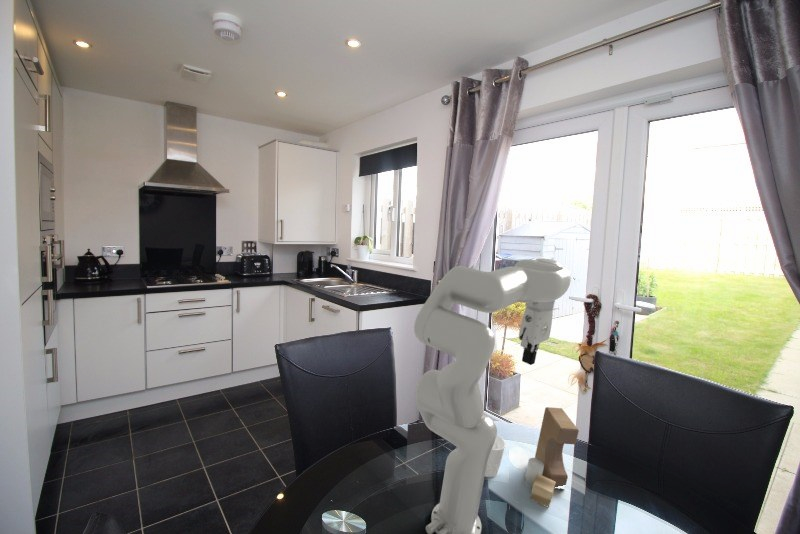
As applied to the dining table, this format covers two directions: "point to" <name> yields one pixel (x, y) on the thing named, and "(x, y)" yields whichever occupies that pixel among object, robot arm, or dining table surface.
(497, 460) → the white cup
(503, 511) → the dining table surface
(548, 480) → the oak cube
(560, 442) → the decorative block
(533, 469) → the grey tub
